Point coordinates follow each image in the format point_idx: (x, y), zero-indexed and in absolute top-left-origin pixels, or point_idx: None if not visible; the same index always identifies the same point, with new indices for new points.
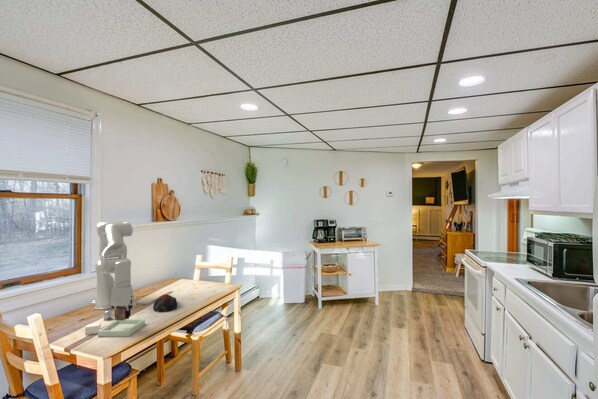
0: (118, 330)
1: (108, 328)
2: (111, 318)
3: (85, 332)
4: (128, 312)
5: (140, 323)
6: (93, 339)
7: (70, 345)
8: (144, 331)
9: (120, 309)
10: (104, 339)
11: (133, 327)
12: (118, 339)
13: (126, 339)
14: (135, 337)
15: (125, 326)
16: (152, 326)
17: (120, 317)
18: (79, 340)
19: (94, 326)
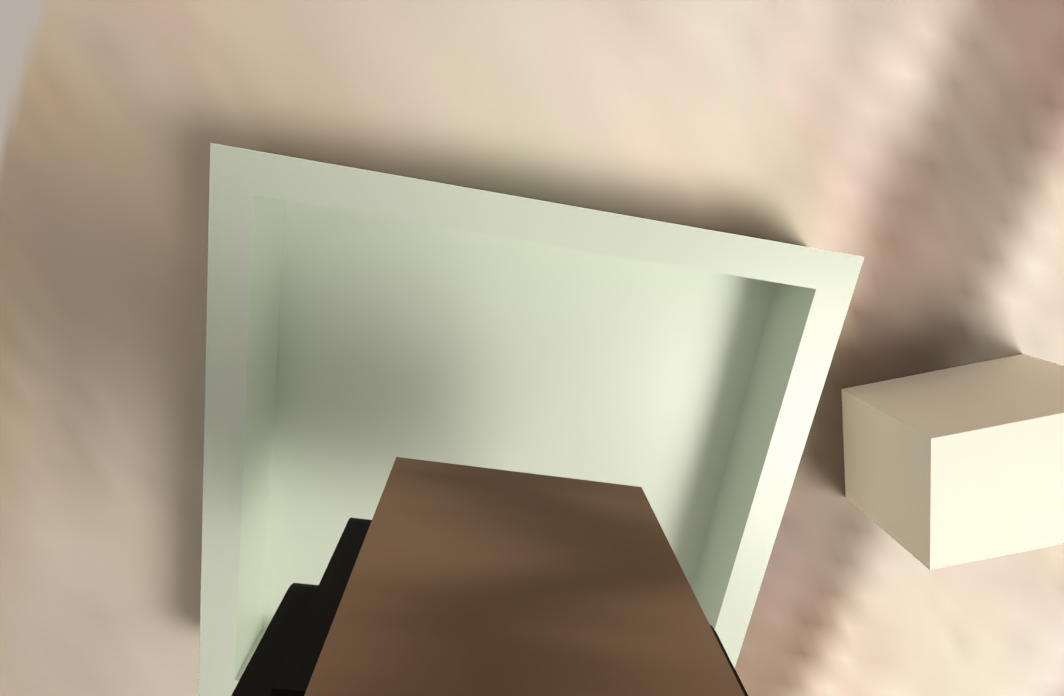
0: (542, 402)
1: (733, 473)
2: None
3: (1051, 363)
4: (257, 668)
5: (209, 557)
6: (835, 131)
7: None
8: (70, 336)
9: None
10: (646, 92)
11: (212, 344)
12: (385, 40)
13: (225, 8)
14: (92, 77)
15: None
16: (45, 527)
17: (500, 508)
18: (1046, 131)
19: (995, 422)
